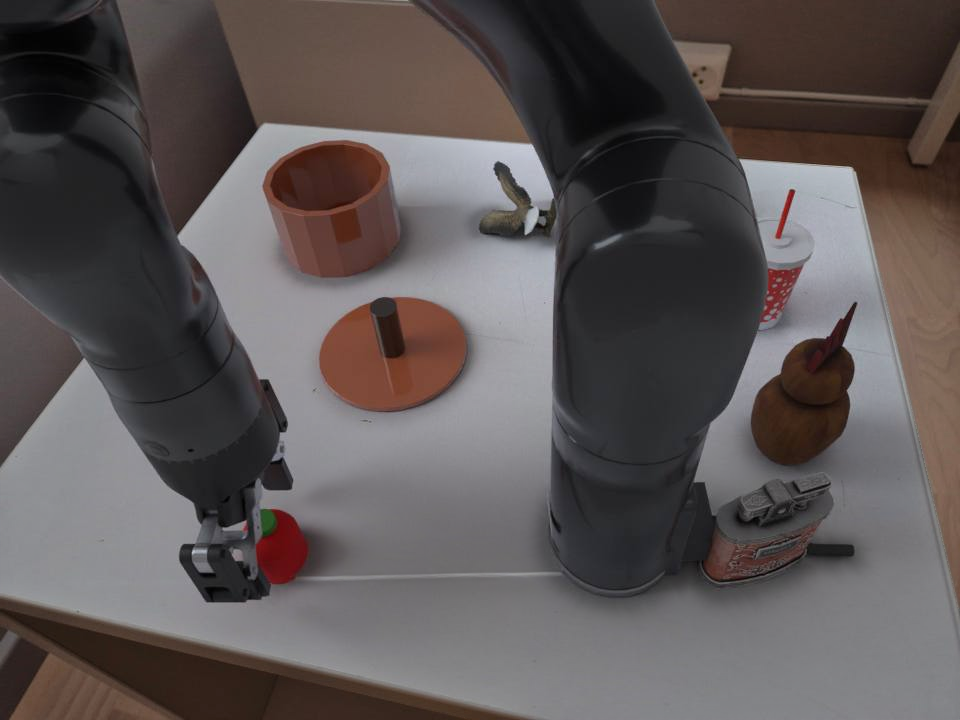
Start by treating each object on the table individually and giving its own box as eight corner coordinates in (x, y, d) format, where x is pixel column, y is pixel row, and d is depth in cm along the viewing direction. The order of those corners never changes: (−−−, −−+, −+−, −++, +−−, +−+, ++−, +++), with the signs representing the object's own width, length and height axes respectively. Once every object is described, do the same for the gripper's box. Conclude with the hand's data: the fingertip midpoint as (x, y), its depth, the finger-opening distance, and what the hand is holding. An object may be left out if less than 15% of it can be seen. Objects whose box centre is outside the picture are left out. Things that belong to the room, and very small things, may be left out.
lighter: (711, 597, 53) (740, 530, 46) (689, 555, 55) (713, 484, 48) (813, 564, 54) (857, 493, 47) (787, 524, 56) (826, 450, 49)
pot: (404, 202, 85) (393, 137, 79) (396, 278, 77) (382, 212, 70) (295, 207, 86) (275, 143, 79) (275, 283, 78) (251, 218, 71)
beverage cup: (735, 281, 74) (768, 160, 63) (797, 304, 71) (843, 182, 61) (710, 320, 70) (741, 199, 60) (774, 345, 68) (818, 224, 57)
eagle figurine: (572, 201, 82) (498, 171, 83) (569, 179, 75) (489, 145, 76) (541, 264, 81) (468, 232, 83) (536, 247, 74) (456, 212, 76)
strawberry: (313, 532, 58) (295, 494, 54) (305, 583, 56) (285, 547, 51) (260, 533, 59) (238, 495, 54) (249, 584, 56) (225, 548, 52)
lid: (468, 302, 74) (463, 251, 69) (465, 413, 65) (459, 363, 60) (332, 308, 75) (317, 257, 70) (311, 418, 66) (292, 369, 61)
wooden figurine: (798, 405, 64) (853, 275, 52) (843, 458, 60) (913, 330, 49) (728, 431, 62) (770, 303, 51) (770, 487, 59) (825, 362, 47)
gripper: (230, 513, 38) (302, 632, 51) (283, 313, 48) (333, 454, 60) (87, 514, 39) (193, 632, 51) (167, 315, 48) (241, 455, 60)
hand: (268, 536), depth 55 cm, fingers open, 8 cm apart
